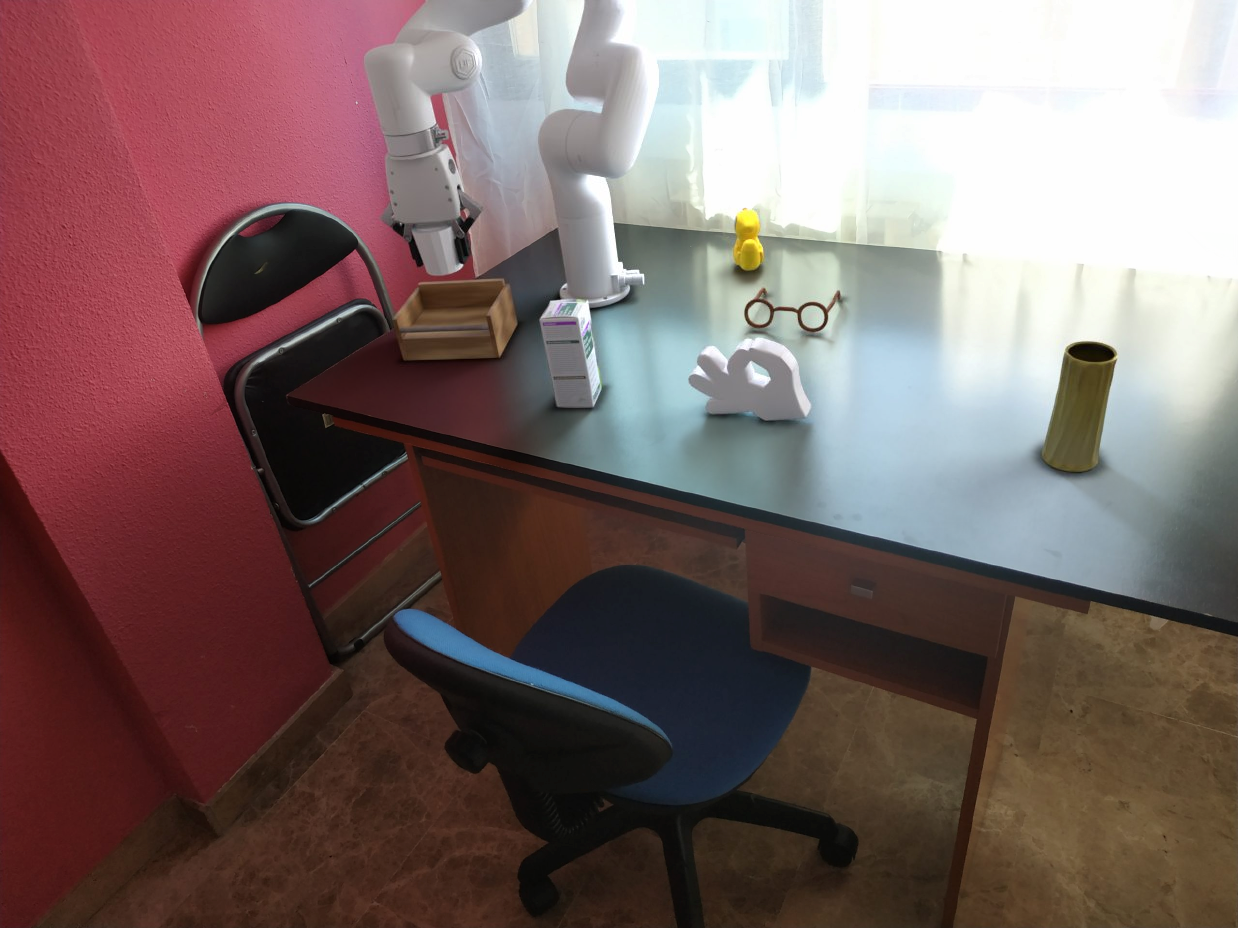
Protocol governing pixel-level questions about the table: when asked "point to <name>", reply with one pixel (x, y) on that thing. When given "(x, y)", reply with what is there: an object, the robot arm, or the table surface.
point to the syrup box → (571, 353)
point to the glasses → (799, 311)
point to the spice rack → (456, 320)
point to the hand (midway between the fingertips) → (443, 261)
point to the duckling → (747, 240)
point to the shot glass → (437, 247)
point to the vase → (1080, 407)
